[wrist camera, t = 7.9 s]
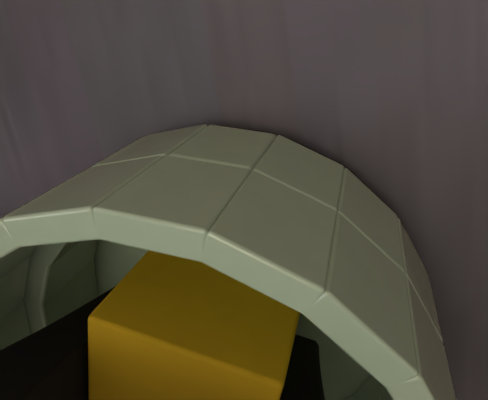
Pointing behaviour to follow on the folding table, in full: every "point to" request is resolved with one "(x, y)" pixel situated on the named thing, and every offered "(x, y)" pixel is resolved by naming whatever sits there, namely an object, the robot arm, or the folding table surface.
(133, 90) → the folding table surface
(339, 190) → the bowl
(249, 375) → the yellow cube
